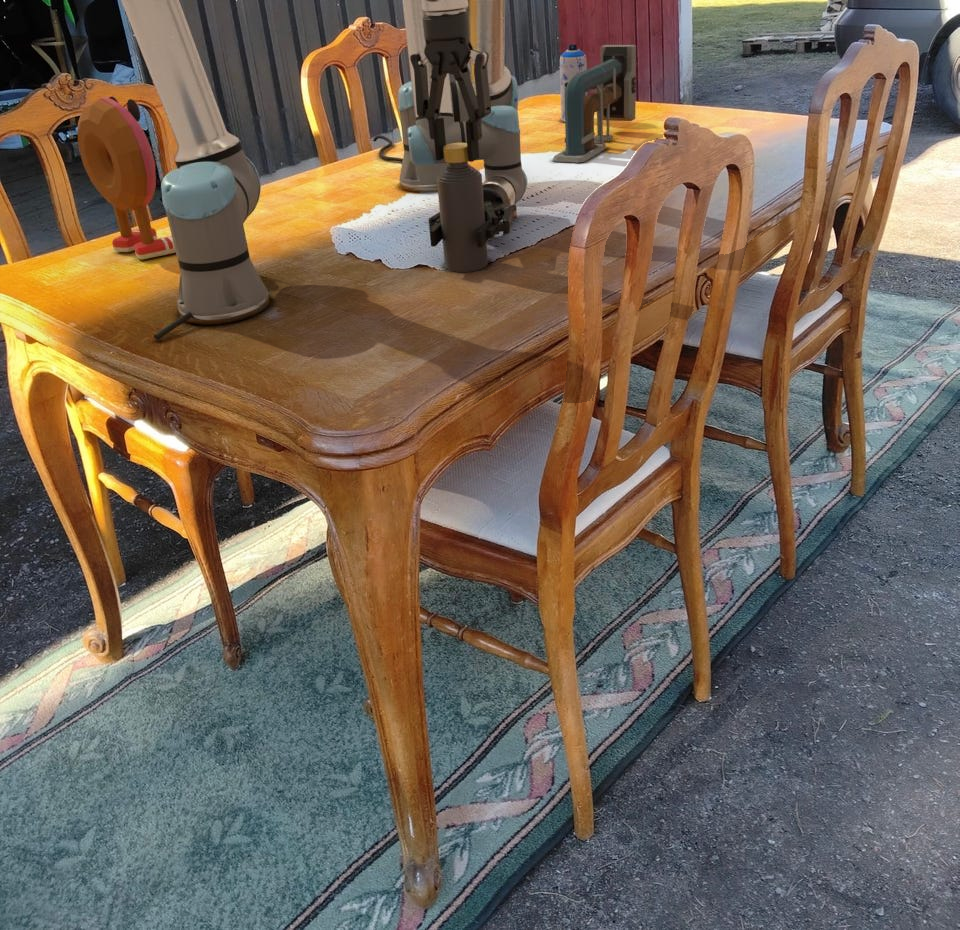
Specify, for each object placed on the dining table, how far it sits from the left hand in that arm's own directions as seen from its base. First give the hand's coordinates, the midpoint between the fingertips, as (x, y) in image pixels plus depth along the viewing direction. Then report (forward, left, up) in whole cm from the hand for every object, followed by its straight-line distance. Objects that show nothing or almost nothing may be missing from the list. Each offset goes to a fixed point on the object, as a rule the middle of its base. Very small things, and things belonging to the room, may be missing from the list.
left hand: (457, 158), depth 167 cm
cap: (0, 0, +2) cm, 2 cm away
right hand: (-5, 0, -13) cm, 14 cm away
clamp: (+91, -6, -19) cm, 93 cm away
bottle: (0, 0, -19) cm, 19 cm away
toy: (+3, +70, -19) cm, 72 cm away
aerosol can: (+122, +6, -19) cm, 124 cm away
